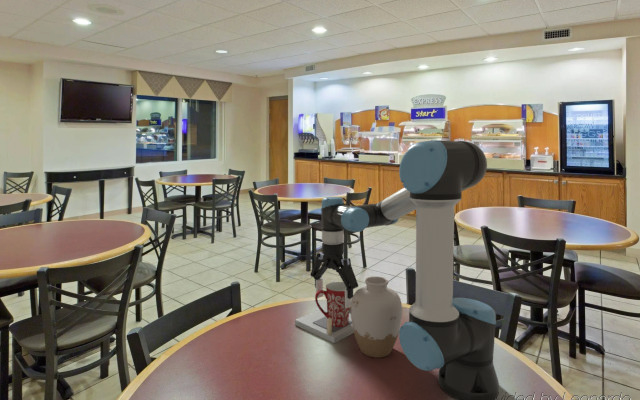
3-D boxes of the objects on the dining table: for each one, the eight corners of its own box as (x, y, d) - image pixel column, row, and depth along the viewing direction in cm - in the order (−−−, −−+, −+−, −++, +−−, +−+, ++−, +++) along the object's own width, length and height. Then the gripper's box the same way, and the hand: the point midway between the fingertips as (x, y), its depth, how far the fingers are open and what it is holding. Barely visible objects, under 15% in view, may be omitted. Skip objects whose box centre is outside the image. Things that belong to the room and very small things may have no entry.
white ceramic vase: (362, 333, 131) (363, 269, 128) (407, 345, 123) (409, 277, 120) (341, 354, 118) (342, 283, 115) (390, 369, 110) (392, 293, 107)
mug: (350, 316, 138) (350, 281, 137) (352, 328, 129) (352, 290, 128) (315, 317, 138) (315, 281, 137) (315, 328, 129) (314, 290, 128)
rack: (376, 320, 141) (376, 302, 140) (334, 343, 124) (334, 322, 123) (338, 305, 154) (338, 289, 153) (295, 324, 137) (294, 306, 136)
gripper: (368, 245, 124) (368, 308, 127) (314, 235, 142) (315, 290, 144) (354, 250, 119) (354, 315, 122) (300, 238, 136) (301, 295, 139)
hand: (333, 301), depth 133 cm, fingers open, 13 cm apart
